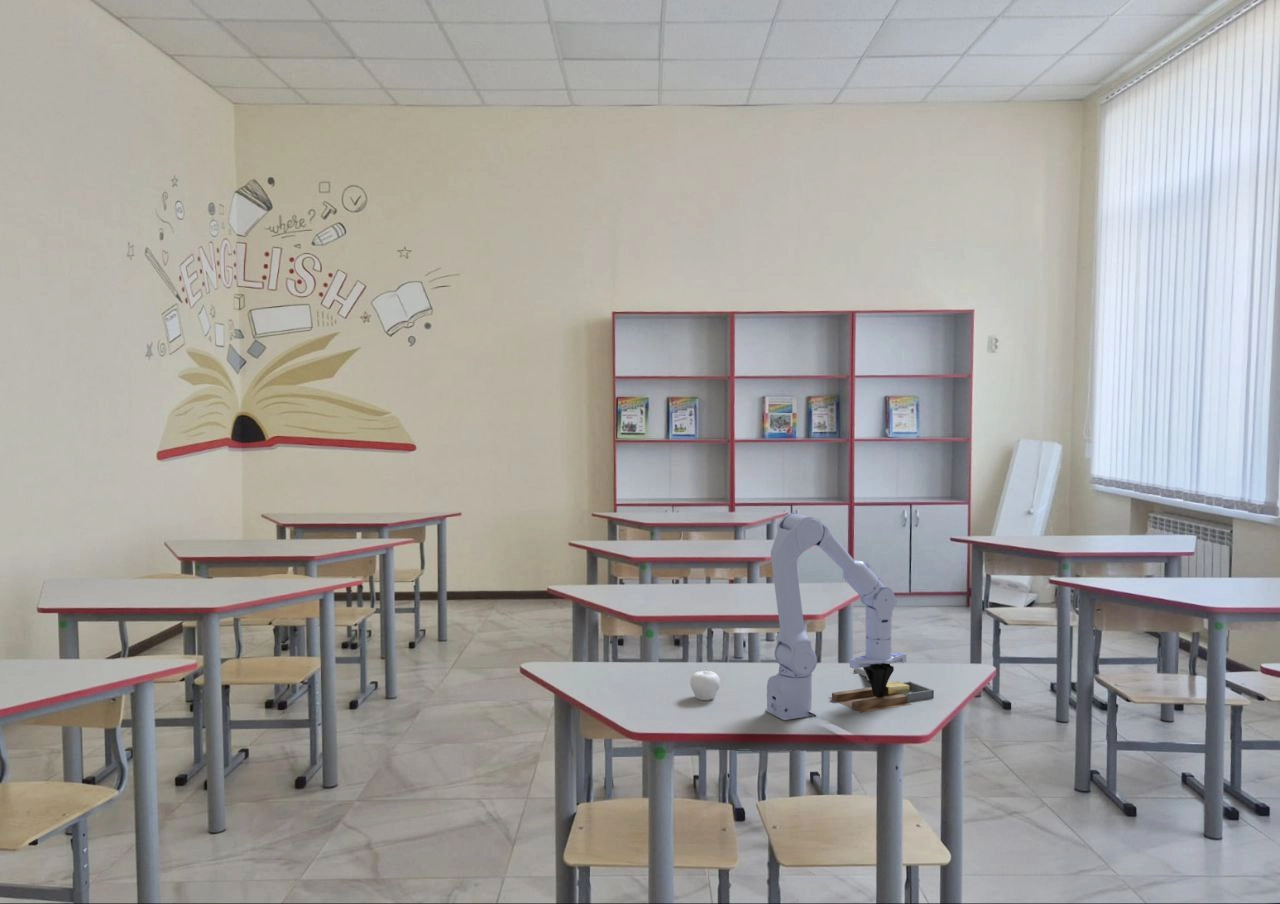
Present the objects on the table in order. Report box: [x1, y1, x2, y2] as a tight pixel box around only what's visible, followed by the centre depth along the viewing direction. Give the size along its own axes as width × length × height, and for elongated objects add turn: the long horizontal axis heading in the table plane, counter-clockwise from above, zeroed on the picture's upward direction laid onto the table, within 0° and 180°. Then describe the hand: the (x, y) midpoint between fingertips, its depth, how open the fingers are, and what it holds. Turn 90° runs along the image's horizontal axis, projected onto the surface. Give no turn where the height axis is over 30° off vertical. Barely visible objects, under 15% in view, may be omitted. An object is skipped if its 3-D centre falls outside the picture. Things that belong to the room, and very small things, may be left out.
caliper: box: [853, 667, 870, 682], centre depth 233 cm, size 20×1×6 cm, turn 0°
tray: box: [902, 681, 935, 703], centre depth 217 cm, size 8×8×3 cm
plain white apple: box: [689, 664, 721, 701], centre depth 219 cm, size 7×7×8 cm
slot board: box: [829, 686, 913, 713], centre depth 212 cm, size 14×12×3 cm
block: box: [883, 680, 910, 697], centre depth 215 cm, size 6×4×3 cm, turn 114°
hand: (878, 696), depth 213 cm, fingers closed
